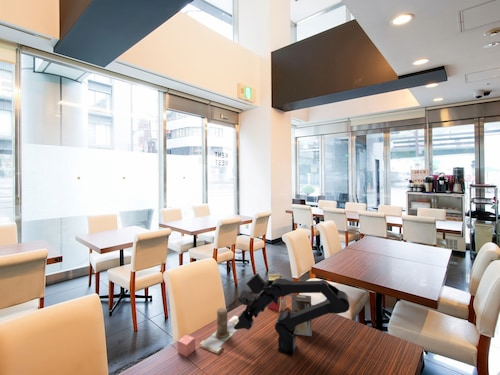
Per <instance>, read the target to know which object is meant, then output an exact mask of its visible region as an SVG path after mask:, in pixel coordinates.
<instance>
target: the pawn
mask: <svg viewBox="0 0 500 375" xmlns="http://www.w3.org/2000/svg"><path fill="white" fill-rule="evenodd" d="M227 322H228V309H227V308H225V307H221V308H218V309H217V310H216V331H215V332H216V337H217V339H219V340H221V339H224V338H227V337H228V336H229V331H228V330H227ZM216 337H215V338H216Z"/></svg>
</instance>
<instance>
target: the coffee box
mask: <svg viewBox="0 0 500 375" xmlns="http://www.w3.org/2000/svg"><path fill="white" fill-rule="evenodd" d="M310 306H312V296H311V295H304V294H297V293H292V294H291V313H295V312H298V311H300V310H303V309H305V308H308V307H310ZM312 329H313V328H312V320H310V321H307V322H305V323H302V324H299V325H297V326H296V327H295V332H294V334H295V335H297V336H298V335H299V336H305V337H306V336H307V337H312V334H313V332H312V331H313V330H312Z"/></svg>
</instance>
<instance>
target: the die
mask: <svg viewBox="0 0 500 375" xmlns="http://www.w3.org/2000/svg"><path fill="white" fill-rule="evenodd" d="M195 350H196V337H193V336H192V335H189V334H185V335H184V336H182V337H181V338H180V339H179V340H177V354H179V355H183V356H184V357H186V358H187V357H188V356H189V355H191V354H192V353H193V352H194V351H195Z"/></svg>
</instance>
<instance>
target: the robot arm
mask: <svg viewBox="0 0 500 375" xmlns="http://www.w3.org/2000/svg"><path fill="white" fill-rule="evenodd" d="M245 285H247V287H248V288H249V289H250V291H251V292H252V293H253V294H254V295H252V294H251V293H250V292H248V291H246V290H242V291H241V293H240V294H239V296H238V299H237V301H238V302H239V303H240V304H241V305H243V306H246V307H245V309H244V310H243V311H242V312H241V313H240V314H239V315H238V320H239V321H238V322H237V324H235V326H234V329H235V330H237V329H238V330H243V329H246V330H247V331H250V329H252V327H253V325H254V323H255V322H254V318H258V315H260V313H263V312H264V311H265V310H266V308H267V306H268V305H269V304H271V303H272V302H274V303H275V304H276V305H277V304H278V302H279V297H282V296H286V297H287V296H288V295H290V294H291V295H292V294H321V295H323V296H324V297H325V300H323V301H321V302H318V303H315V304H314V305H311V306H310V307H308V308H305V309H303V310H300V311H298V312H295V313H292V312H290V309H287V310H284V311H280V312H279V314H278V315H277V318H276V321H275V325H274V329H275V331H276V333H277V335H278V337H277V344H278V345H277V346H278V348H277V352H279V353H282V354H285V355H288V356H291V357H292V356H293V355H294V354H295V352H296V350H297V348H298V345H296V344H297V340H296V339H297V334H294V332H295V327H296V326H297V325H299V324H302V323H305V322H307V321H310V320H311V321H312V320H315V319H317V318H320V317H323V316H325V315H329V314H333V315H336V314H337V315H338V314H339V315H340V314H343V313H347V312H348V311H349V310H350V306H351V305H350V300H349V296H348V294H347V292H345V291H342V290H341V289H339V288H338V287H336V286H335V285H332V284H330V283H329V282H328V281H327V280H325V279H321V280H299V281H298V280H295V281H293V280H290V279H289V280H288V279H287V278H283V279H281V278H277V279H275V280H269V279H266V281H265V280H264V279H263V278H262V277H261V275H260V274H259V273H258V272H257V273H255V274H254V275H252V276H250V278H249V279H248V280H247V281H246V283H245ZM270 286H271V287H270ZM257 294H258V295H257ZM253 317H254V318H253ZM238 330H237V331H238Z"/></svg>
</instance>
